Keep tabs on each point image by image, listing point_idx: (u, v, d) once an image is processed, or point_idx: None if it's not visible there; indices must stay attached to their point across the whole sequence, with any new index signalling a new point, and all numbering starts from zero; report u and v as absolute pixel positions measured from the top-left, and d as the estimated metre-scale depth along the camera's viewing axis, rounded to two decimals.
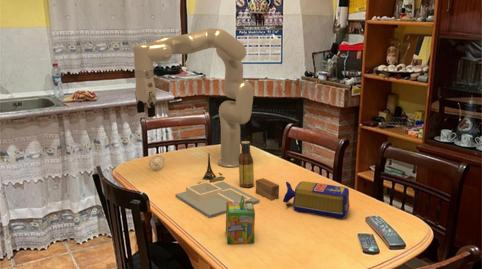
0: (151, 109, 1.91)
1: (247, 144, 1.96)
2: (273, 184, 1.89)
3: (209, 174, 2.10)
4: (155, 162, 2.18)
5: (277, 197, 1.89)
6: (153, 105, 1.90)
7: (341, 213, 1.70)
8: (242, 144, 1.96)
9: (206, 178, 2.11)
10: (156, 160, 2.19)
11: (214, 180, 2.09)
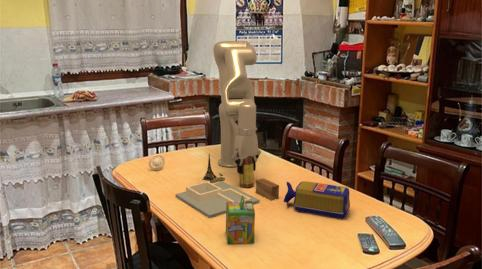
0: None
1: None
2: (273, 184, 1.89)
3: (209, 175, 2.09)
4: (155, 162, 2.18)
5: (277, 197, 1.89)
6: None
7: (341, 213, 1.70)
8: None
9: (206, 179, 2.10)
10: (156, 160, 2.19)
11: (214, 181, 2.08)
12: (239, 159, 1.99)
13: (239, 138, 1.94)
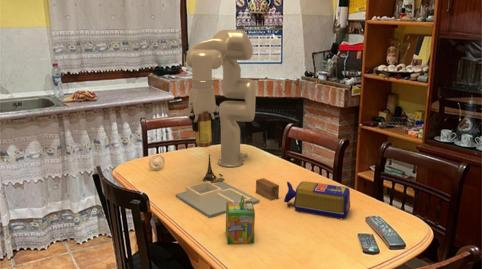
0: None
1: None
2: (273, 184, 1.89)
3: (209, 175, 2.08)
4: (155, 162, 2.18)
5: (277, 197, 1.89)
6: None
7: (342, 213, 1.70)
8: None
9: (206, 179, 2.10)
10: (156, 160, 2.19)
11: (214, 181, 2.07)
12: (194, 115, 1.80)
13: (193, 91, 1.75)
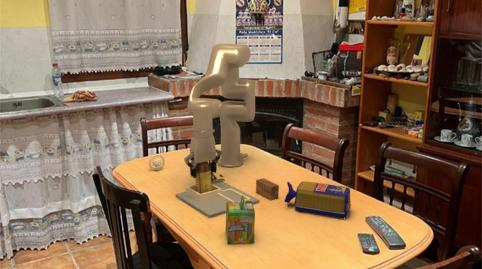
0: None
1: None
2: (273, 184, 1.89)
3: None
4: (155, 162, 2.18)
5: (277, 197, 1.89)
6: None
7: (342, 213, 1.70)
8: None
9: None
10: (156, 160, 2.19)
11: (214, 182, 2.06)
12: (193, 162, 1.84)
13: (194, 141, 1.80)
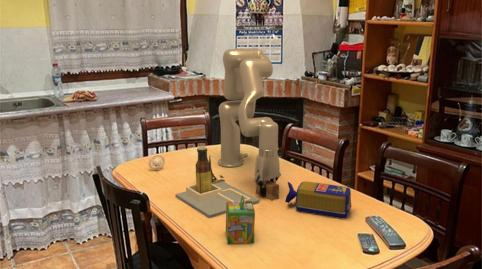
0: None
1: (203, 150, 1.83)
2: (273, 184, 1.89)
3: None
4: (155, 162, 2.18)
5: (277, 197, 1.89)
6: None
7: (343, 213, 1.70)
8: (199, 151, 1.83)
9: None
10: (156, 160, 2.19)
11: (214, 183, 2.06)
12: (261, 181, 1.90)
13: (260, 159, 1.85)
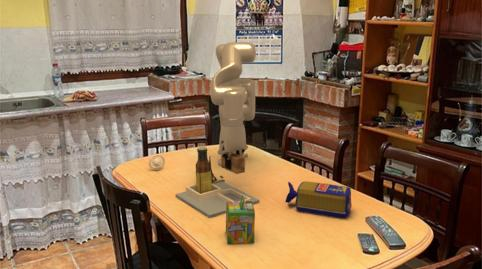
0: None
1: (203, 150, 1.83)
2: (239, 156, 1.79)
3: None
4: (155, 162, 2.18)
5: (243, 170, 1.79)
6: None
7: (343, 213, 1.71)
8: (199, 151, 1.83)
9: None
10: (156, 160, 2.19)
11: (215, 183, 2.05)
12: (226, 153, 1.80)
13: (224, 129, 1.75)
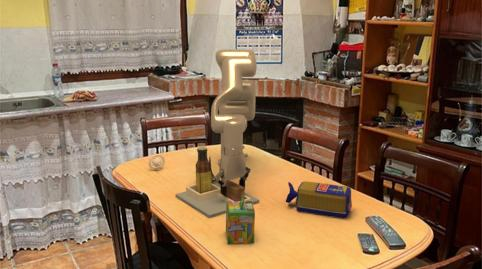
0: None
1: (203, 150, 1.83)
2: (238, 186, 1.82)
3: None
4: (155, 162, 2.18)
5: None
6: None
7: (344, 213, 1.71)
8: (199, 151, 1.83)
9: None
10: (156, 160, 2.19)
11: None
12: (223, 180, 1.82)
13: (224, 158, 1.78)
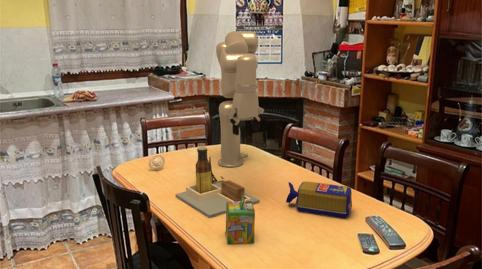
0: None
1: (203, 150, 1.83)
2: (238, 186, 1.82)
3: None
4: (155, 162, 2.18)
5: None
6: None
7: (344, 213, 1.71)
8: (199, 151, 1.83)
9: None
10: (156, 160, 2.19)
11: None
12: (235, 119, 1.77)
13: (238, 96, 1.73)
